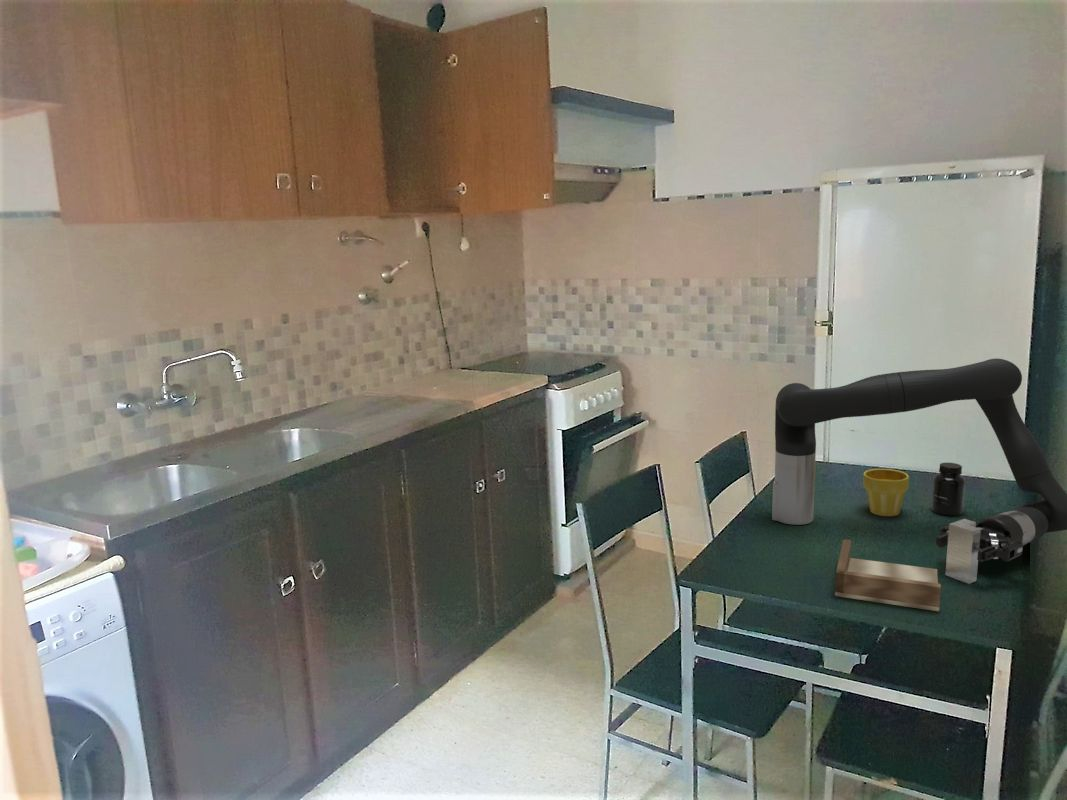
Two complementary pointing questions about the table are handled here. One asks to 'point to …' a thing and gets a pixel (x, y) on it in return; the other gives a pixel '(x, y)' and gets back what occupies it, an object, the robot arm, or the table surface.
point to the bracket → (963, 551)
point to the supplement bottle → (948, 490)
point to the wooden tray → (886, 582)
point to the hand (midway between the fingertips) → (958, 549)
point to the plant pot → (885, 490)
